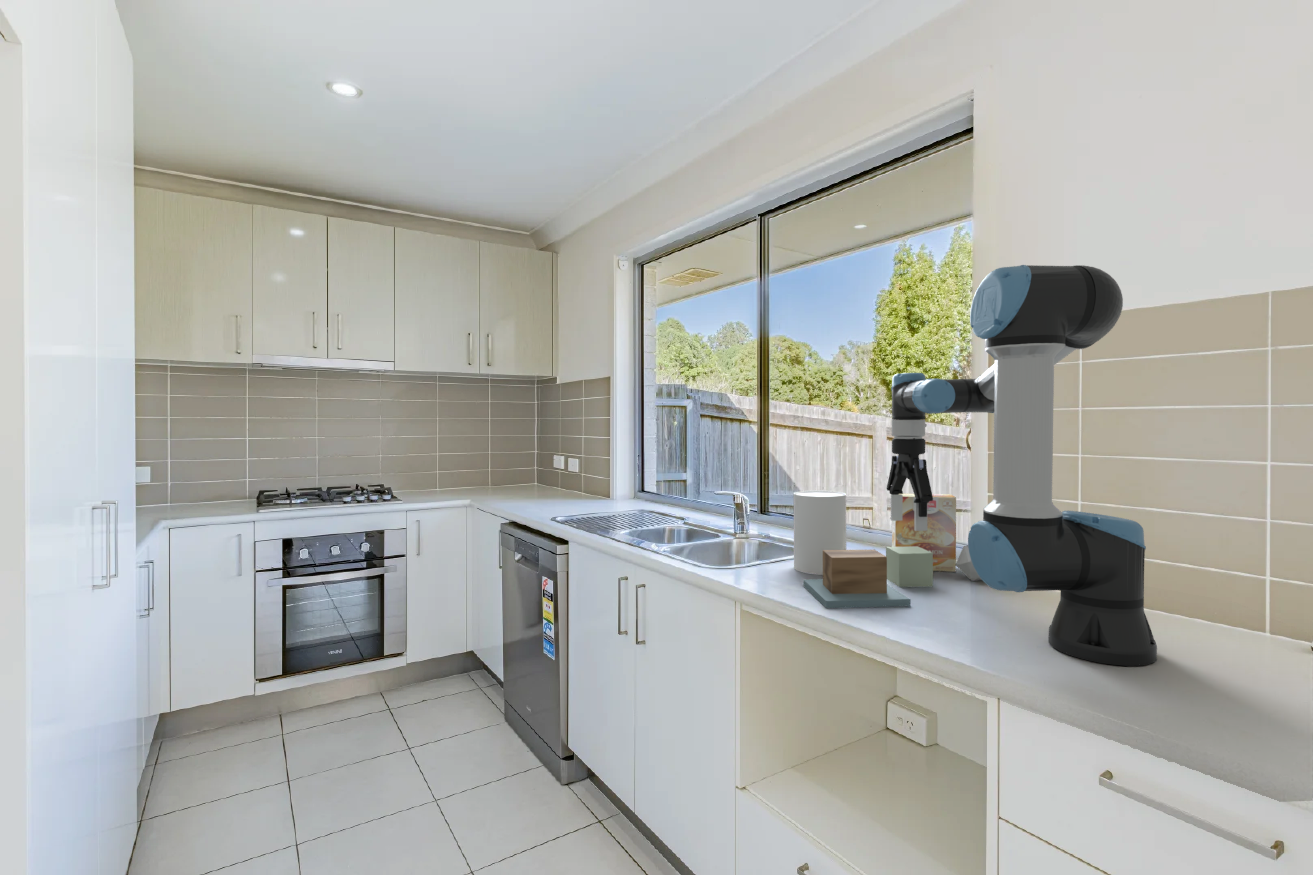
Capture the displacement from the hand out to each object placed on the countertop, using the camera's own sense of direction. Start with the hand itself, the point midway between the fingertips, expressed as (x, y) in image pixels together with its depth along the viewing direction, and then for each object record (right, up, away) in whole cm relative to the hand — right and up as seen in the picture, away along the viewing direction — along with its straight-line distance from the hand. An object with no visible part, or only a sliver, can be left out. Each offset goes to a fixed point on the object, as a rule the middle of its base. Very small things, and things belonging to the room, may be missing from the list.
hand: (908, 525), depth 154 cm
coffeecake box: (+10, -14, +14) cm, 22 cm away
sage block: (0, -14, 0) cm, 14 cm away
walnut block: (-16, -13, -11) cm, 23 cm away
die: (+18, -14, +3) cm, 23 cm away
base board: (-16, -14, -10) cm, 24 cm away
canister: (-17, -14, +15) cm, 27 cm away
